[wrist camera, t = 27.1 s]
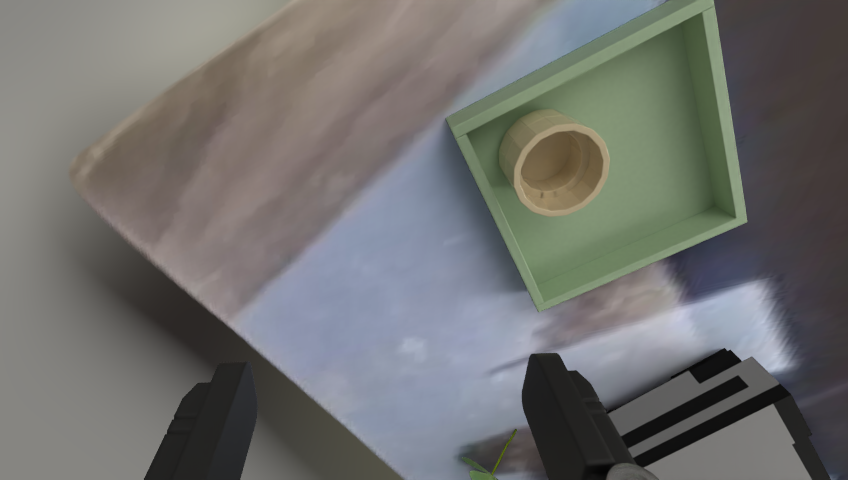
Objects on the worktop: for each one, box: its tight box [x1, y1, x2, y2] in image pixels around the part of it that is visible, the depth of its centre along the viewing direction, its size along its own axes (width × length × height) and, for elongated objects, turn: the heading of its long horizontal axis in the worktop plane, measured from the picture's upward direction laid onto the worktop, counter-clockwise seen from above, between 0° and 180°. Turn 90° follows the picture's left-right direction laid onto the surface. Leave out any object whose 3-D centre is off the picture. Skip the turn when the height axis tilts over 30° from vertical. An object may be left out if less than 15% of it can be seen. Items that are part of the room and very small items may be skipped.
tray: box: [446, 0, 747, 312], centre depth 33 cm, size 18×18×3 cm
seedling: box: [462, 429, 517, 480], centre depth 49 cm, size 7×8×6 cm
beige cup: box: [499, 109, 610, 217], centre depth 31 cm, size 6×6×5 cm
